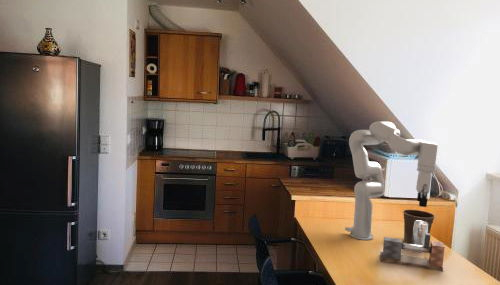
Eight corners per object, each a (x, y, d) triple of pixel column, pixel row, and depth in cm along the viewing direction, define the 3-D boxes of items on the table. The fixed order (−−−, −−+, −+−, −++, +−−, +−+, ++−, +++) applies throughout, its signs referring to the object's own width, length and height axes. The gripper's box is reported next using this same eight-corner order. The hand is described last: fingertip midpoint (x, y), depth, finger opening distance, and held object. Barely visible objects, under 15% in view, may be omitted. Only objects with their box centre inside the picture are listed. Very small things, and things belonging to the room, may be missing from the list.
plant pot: (432, 240, 227) (435, 212, 226) (432, 249, 213) (435, 219, 211) (401, 235, 234) (404, 207, 232) (399, 243, 219) (401, 214, 218)
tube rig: (380, 261, 192) (382, 239, 191) (380, 254, 201) (382, 233, 200) (442, 271, 184) (445, 248, 183) (439, 263, 193) (441, 241, 192)
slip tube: (394, 249, 193) (396, 230, 192) (394, 247, 196) (395, 228, 195) (438, 255, 187) (439, 236, 186) (437, 253, 190) (438, 234, 189)
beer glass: (425, 249, 212) (427, 221, 211) (426, 253, 206) (429, 225, 204) (411, 247, 214) (413, 219, 213) (411, 251, 208) (414, 223, 206)
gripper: (415, 164, 199) (411, 198, 201) (419, 170, 182) (414, 207, 185) (432, 166, 197) (427, 200, 199) (437, 172, 180) (432, 209, 182)
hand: (421, 203), depth 192 cm, fingers open, 9 cm apart
